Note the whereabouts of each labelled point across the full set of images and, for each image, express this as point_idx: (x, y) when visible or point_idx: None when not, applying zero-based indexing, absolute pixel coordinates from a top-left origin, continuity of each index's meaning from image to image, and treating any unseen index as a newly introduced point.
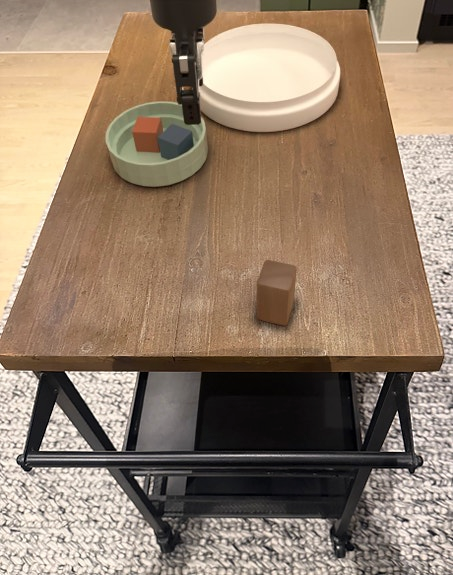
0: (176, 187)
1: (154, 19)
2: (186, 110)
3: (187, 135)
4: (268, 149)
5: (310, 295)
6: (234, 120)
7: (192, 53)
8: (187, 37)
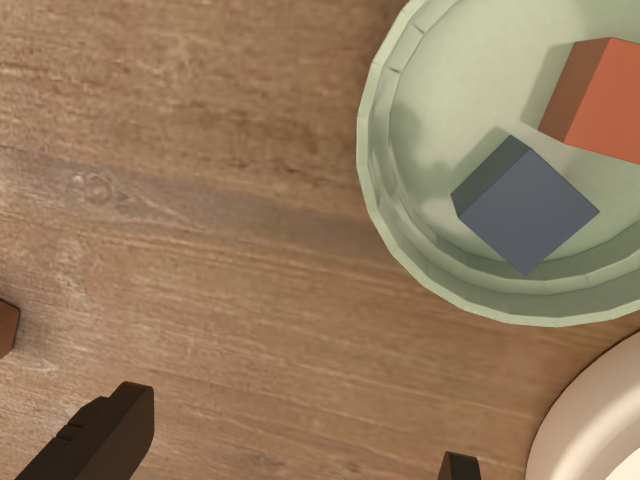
0: None
1: None
2: (39, 459)
3: (503, 257)
4: (460, 423)
5: (31, 380)
6: (594, 389)
7: None
8: None
